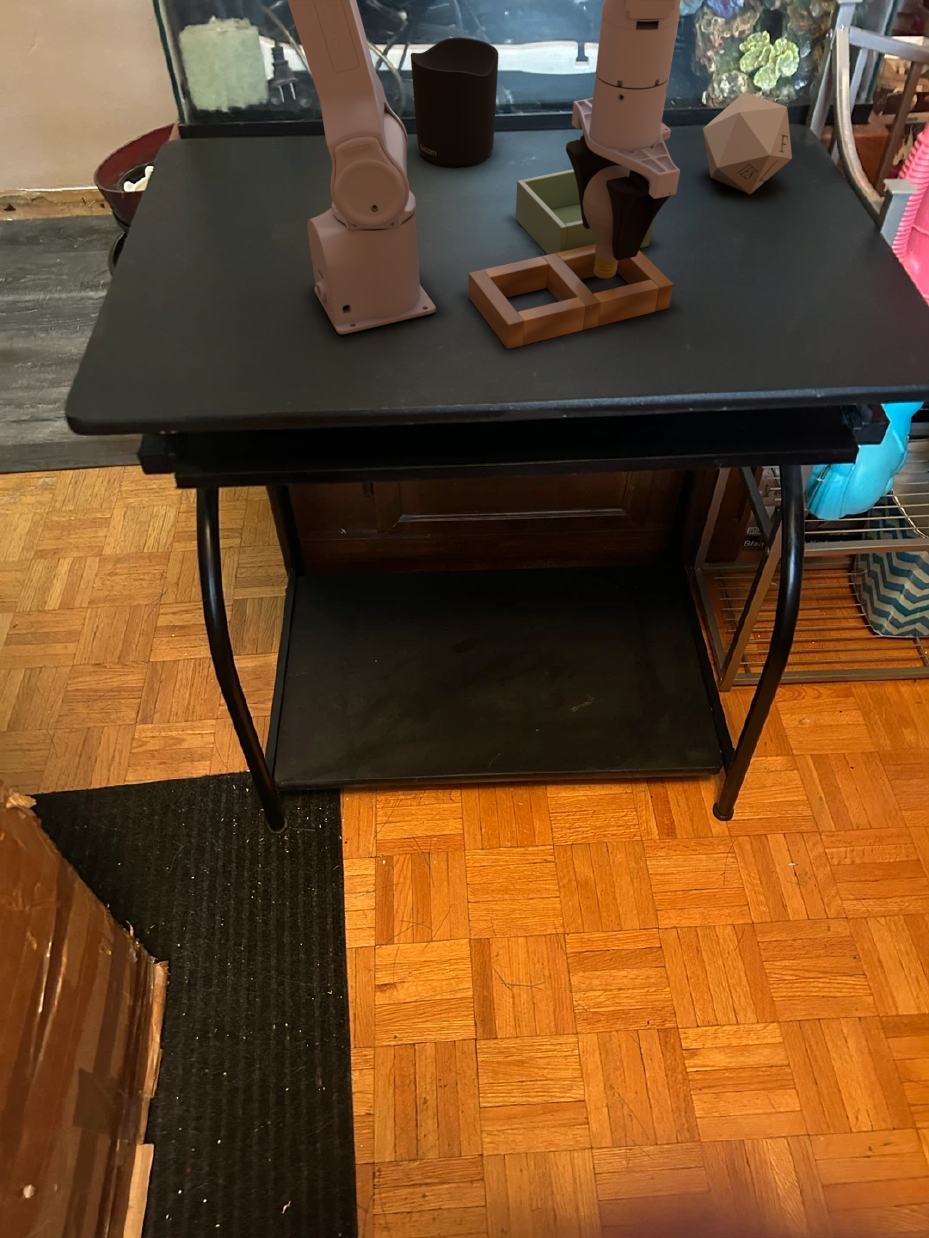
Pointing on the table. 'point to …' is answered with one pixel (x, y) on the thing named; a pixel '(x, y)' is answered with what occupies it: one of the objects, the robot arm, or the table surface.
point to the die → (748, 142)
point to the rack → (565, 295)
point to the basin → (555, 212)
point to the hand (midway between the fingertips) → (609, 241)
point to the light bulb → (602, 218)
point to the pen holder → (455, 101)
